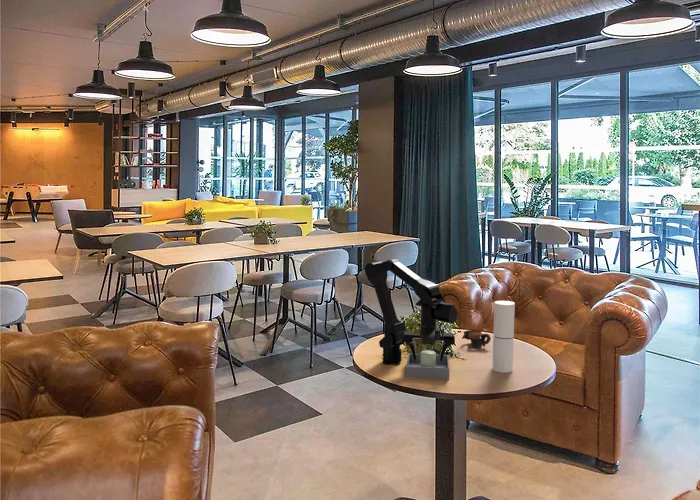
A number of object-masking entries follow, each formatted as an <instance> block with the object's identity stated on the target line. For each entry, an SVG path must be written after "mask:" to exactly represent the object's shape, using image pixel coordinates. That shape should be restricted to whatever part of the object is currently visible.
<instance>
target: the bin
mask: <svg viewBox="0 0 700 500" xmlns="http://www.w3.org/2000/svg"><path fill="white" fill-rule="evenodd" d="M407 354H408V355H407V361H406V365H405V366H406V367H405V370H406V371H405V374H406V375H405V378H409V379H426V380H427V379H428V380H444V381H445V380H446V381H448V380H450V359H449V357H450V356H449V355H448V354H444V356H443V359H442V361H441V362H440V356H441V354H436V368H434V367H420V353H416V361H415V360H414V357H413V354H412V353H407Z"/></svg>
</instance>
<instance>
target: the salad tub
mask: <svg viewBox="0 0 700 500" xmlns="http://www.w3.org/2000/svg"><path fill="white" fill-rule="evenodd" d="M436 352H437V351H433V350H429V349H428V350H422V351H420V353H419V354H420V367H434V368H436V355H437V353H436Z"/></svg>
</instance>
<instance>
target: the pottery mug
mask: <svg viewBox="0 0 700 500" xmlns="http://www.w3.org/2000/svg"><path fill="white" fill-rule="evenodd" d="M463 339H464V340H470V343H467V344H466V345H467V350H475V349H476V350H482V348H485V347H486V345H488V344H489V343H490V341H491V340H492V338H491V335H490V334H488V333H482V330H480V329H470V330H465V331H463V336H462V337H461V340H463Z"/></svg>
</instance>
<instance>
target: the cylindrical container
mask: <svg viewBox="0 0 700 500" xmlns="http://www.w3.org/2000/svg"><path fill="white" fill-rule="evenodd" d="M493 303H494V304H493V305H494V307H493V333H492V334H493V335H492V367H491V368H492V371H494V372H497V373H504V374H505V373H507V374H508V373H512V372H513V368H514V367H513V366H514V365H513V364H514V339H515V338H514V337H515V313H516V312H515V306H516V305H515V303H516V302H514V301H512V300H511V301H510V300H496V301H494V302H493Z"/></svg>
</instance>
